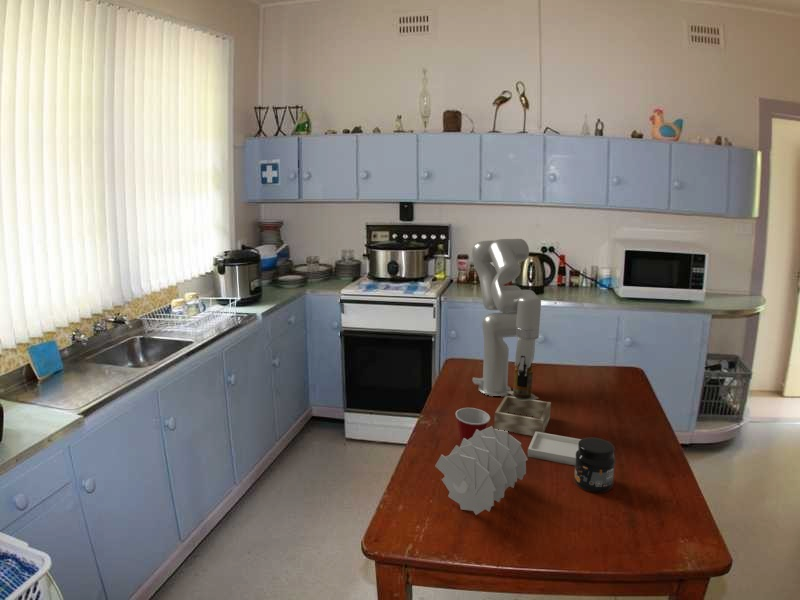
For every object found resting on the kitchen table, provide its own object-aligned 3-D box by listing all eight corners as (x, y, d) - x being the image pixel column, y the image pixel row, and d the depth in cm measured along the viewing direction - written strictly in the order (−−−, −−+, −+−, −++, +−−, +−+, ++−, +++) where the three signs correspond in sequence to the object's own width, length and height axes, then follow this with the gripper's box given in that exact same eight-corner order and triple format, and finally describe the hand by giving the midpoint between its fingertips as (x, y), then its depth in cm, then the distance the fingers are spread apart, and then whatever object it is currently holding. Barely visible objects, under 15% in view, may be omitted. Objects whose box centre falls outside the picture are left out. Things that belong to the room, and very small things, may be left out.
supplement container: (573, 471, 171) (576, 434, 168) (611, 477, 168) (615, 439, 165) (573, 490, 161) (576, 451, 158) (613, 497, 158) (617, 456, 156)
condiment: (525, 389, 205) (527, 357, 202) (539, 398, 197) (541, 365, 194) (507, 392, 202) (509, 359, 199) (520, 402, 195) (522, 368, 192)
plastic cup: (480, 461, 177) (481, 424, 174) (448, 452, 182) (449, 416, 180) (494, 447, 186) (496, 412, 183) (463, 438, 191) (464, 404, 188)
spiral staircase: (515, 494, 167) (472, 535, 147) (467, 453, 174) (420, 486, 154) (546, 448, 159) (505, 484, 139) (494, 407, 167) (449, 436, 147)
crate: (494, 429, 198) (494, 412, 197) (504, 410, 212) (505, 395, 211) (542, 437, 192) (543, 420, 191) (549, 418, 206) (550, 402, 205)
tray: (527, 456, 180) (527, 449, 179) (535, 438, 192) (535, 431, 191) (588, 468, 173) (589, 460, 172) (592, 448, 185) (593, 441, 184)
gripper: (521, 323, 204) (518, 372, 209) (510, 338, 188) (507, 390, 193) (543, 326, 201) (539, 375, 206) (533, 341, 186) (530, 394, 190)
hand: (524, 382), depth 199 cm, fingers closed on condiment, 6 cm apart
